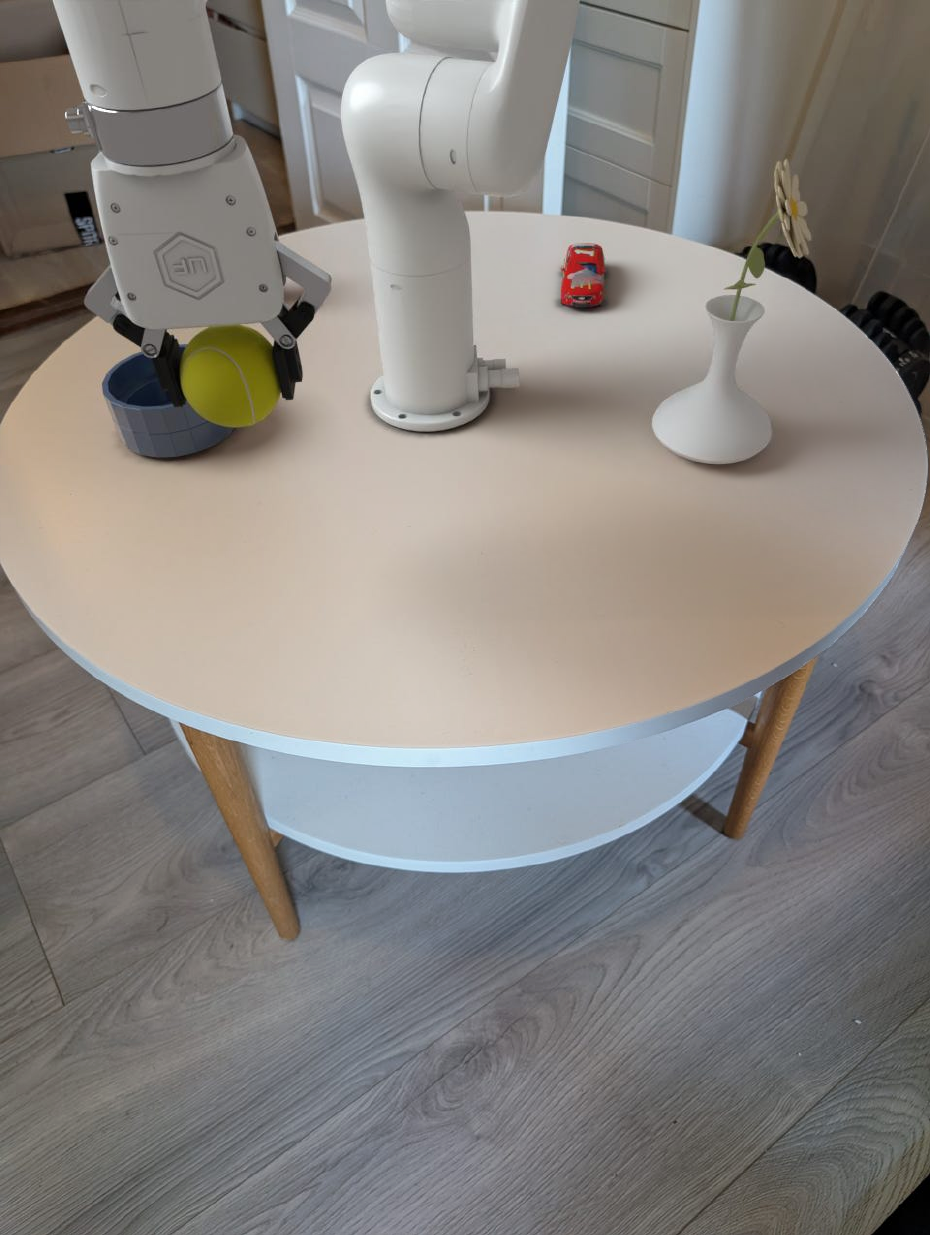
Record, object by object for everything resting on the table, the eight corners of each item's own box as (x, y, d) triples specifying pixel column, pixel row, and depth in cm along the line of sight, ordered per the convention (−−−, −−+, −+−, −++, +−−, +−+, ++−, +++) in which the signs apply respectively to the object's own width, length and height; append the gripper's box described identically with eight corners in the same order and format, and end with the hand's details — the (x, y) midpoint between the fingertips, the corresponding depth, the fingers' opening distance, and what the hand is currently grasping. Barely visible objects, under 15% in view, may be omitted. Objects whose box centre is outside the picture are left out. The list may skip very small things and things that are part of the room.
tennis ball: (268, 451, 62) (245, 363, 56) (179, 440, 63) (149, 353, 58) (304, 396, 66) (286, 309, 61) (220, 387, 68) (196, 301, 62)
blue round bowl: (248, 392, 95) (235, 341, 91) (230, 458, 87) (215, 406, 82) (136, 397, 95) (119, 346, 91) (108, 464, 87) (87, 412, 82)
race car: (602, 314, 105) (605, 282, 102) (557, 312, 105) (558, 280, 102) (606, 264, 113) (609, 233, 111) (565, 263, 114) (566, 232, 111)
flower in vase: (728, 491, 80) (793, 213, 62) (626, 444, 86) (659, 177, 68) (797, 428, 87) (874, 160, 69) (698, 389, 92) (745, 131, 74)
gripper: (-9, 159, 47) (104, 432, 61) (310, 138, 48) (355, 415, 61) (30, 112, 53) (127, 373, 66) (319, 93, 53) (358, 357, 66)
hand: (236, 391), depth 63 cm, fingers closed on tennis ball, 7 cm apart
